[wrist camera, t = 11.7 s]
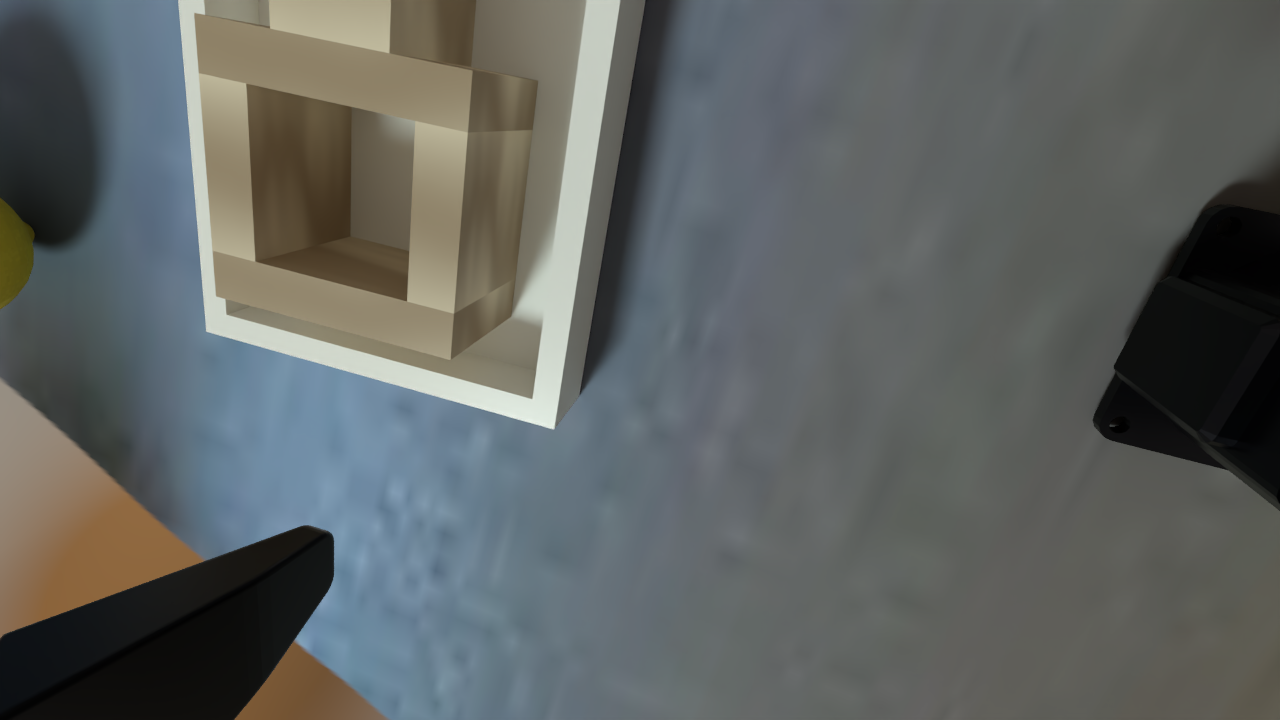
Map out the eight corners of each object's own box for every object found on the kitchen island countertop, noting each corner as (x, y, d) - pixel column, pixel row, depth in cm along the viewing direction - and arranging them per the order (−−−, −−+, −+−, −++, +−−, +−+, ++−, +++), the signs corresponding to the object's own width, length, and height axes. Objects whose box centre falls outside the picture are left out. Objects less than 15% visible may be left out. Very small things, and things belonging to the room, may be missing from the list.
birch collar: (511, 316, 20) (450, 360, 17) (314, 265, 21) (215, 296, 17) (565, -163, 15) (497, -251, 12) (308, -203, 16) (170, -296, 13)
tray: (235, -316, 16) (145, -387, 14) (688, -256, 15) (670, -325, 12) (264, 310, 23) (206, 331, 21) (579, 396, 21) (554, 429, 19)
